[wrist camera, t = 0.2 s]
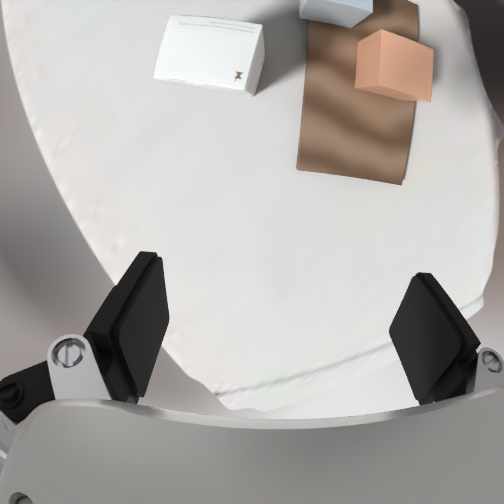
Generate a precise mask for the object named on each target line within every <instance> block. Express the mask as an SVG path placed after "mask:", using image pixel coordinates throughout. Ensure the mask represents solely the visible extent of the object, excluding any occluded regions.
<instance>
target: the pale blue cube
mask: <svg viewBox="0 0 504 504" xmlns="http://www.w3.org/2000/svg"><path fill="white" fill-rule="evenodd" d="M371 13H373V0H300V6H299V18H300V19H307V20H313V21H319V22H325V23H330V24H335V25H339V26H344V27H348V28H352V27H353V26H355V25H356V24H357V23H359V22H360V21H361V20H363V19H364V18H366V17H367V16H368V15H370V14H371Z"/></svg>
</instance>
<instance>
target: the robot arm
mask: <svg viewBox="0 0 504 504" xmlns="http://www.w3.org/2000/svg"><path fill="white" fill-rule="evenodd" d="M168 324H169V310H168V303H167V295H166V287H165V279H164V270H163V261H162V258H161V257H158V255H157V253H156V252H144V251H140V252H139V254H138V255H137V256H136V258H135V259H134V261H133V262H132V264H131V265H130V266H129V268H128V269H127V271H126V272H125V274H124V275H123V277H122V278H121V280H120V281H119V283H118V284H117V285H116V286H114V287H113V289H112V290H111V292H110V293H109V295H108V296H107V298H106V299H105V301H104V302H103V304H102V305H101V307H100V309H99V310H98V312H97V313H96V315H95V317H94V318H93V320H92V321H91V323H90V325H89V326H88V328H87V330H86V331H85V333H84V335H83V336H80V335H77V334H69V335H64V336H62V337H60V338H58V339H57V340H55V341H54V342H53V343H52V344H51V346H50V347H49V350H48V352H47V360H46V361H44V362H42V363H39V364H37V365H34V366H32V367H29V368H27V369H24V370H22V371H19V372H17V373H15V374H12V375H9V376H7V377H5V378H3V379H2V380H1V381H0V504H504V361H503V359H502V358H501V356H500V355H499V354H498V353H497V352H496V351H494V350H493V349H490V348H482V349H481V350H480V351H479V353H478V354H477V352H476V349H477V348H478V346H479V345H480V344H481V343H480V341H479V339H478V338H477V336H476V335H475V333H474V332H473V330H472V329H471V327H470V326H469V324H468V323H467V321H466V320H465V318H464V317H463V315H462V314H461V312H460V311H459V310H458V308H457V307H456V305H455V304H454V303H453V301H452V300H451V299H450V297H449V296H448V294H447V293H446V292H445V290H444V289H443V288H442V287H441V285H440V284H439V283H438V281H437V280H436V279H435V278H434V276H433V275H432V274H431V273H421V272H419V273H417V274H416V275H415V276H413V277H412V279H411V281H410V284H409V286H408V289H407V291H406V293H405V296H404V298H403V300H402V302H401V305H400V307H399V309H398V311H397V313H396V315H395V317H394V319H393V322H392V324H391V326H390V329H389V334H390V337H391V339H392V342H393V344H394V346H395V349H396V351H397V353H398V356H399V358H400V361H401V363H402V366H403V368H404V371H405V373H406V376H407V378H408V381H409V383H410V386H411V389H412V391H413V394H414V397H415V399H416V400H418V401H419V404H420V406H416V407H411V408H406V409H400V410H395V411H388V412H383V413H375V414H367V415H359V416H349V417H337V418H323V419H289V420H287V419H285V420H283V419H282V420H281V419H276V420H275V419H248V418H232V417H221V416H211V415H202V414H193V413H186V412H179V411H172V410H165V409H160V408H154V407H149V406H143V405H137V403H138V400H139V397H144V395H145V392H146V390H147V386H148V383H149V380H150V377H151V374H152V371H153V368H154V365H155V362H156V359H157V356H158V352H159V350H160V347H161V344H162V341H163V338H164V335H165V332H166V330H167V327H168ZM434 401H435V402H434ZM127 402H128V403H127ZM433 402H434V403H433ZM131 403H132V404H131Z"/></svg>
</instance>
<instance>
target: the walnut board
mask: <svg viewBox="0 0 504 504" xmlns="http://www.w3.org/2000/svg"><path fill="white" fill-rule="evenodd" d="M381 29H382V30H385V31H388V32H391V33H394V34H396V35H399V36H402V37H405V38H407V39H410V40H412V41H415V42H417V43H418V10H417V4H414V3H412V2H410V1H407V0H373V13H371V14H370V15H368V16H367V17H366V18H364V19H363V20H361V21H360V22H359V23H357V24H356V25H355V26H353V27H352V28H348V27H344V26H339V25H335V24H330V23H325V22H319V21H313V20H309V24H308V41H307V56H306V70H305V83H304V95H303V106H302V117H301V128H300V138H299V147H298V157H297V166H296V168H297V170H301V171H310V172H318V173H326V174H334V175H341V176H348V177H355V178H362V179H368V180H374V181H380V182H385V183H391V184H396V185H402V181H403V176H404V171H405V166H406V161H407V155H408V150H409V144H410V137H411V131H412V123H413V115H414V107H415V101H406V100H398V99H394V98H391V97H387V96H384V95H380V94H376V93H373V92H369V91H364V90H360V89H356V88H355V79H356V65H357V48H358V42H359V41H361V40H363V39H364V38H366V37H368V36H370V35H371V34H373V33H375V32H377V31H379V30H381Z"/></svg>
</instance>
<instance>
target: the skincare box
mask: <svg viewBox="0 0 504 504" xmlns="http://www.w3.org/2000/svg"><path fill="white" fill-rule="evenodd" d="M264 59H265V48H264V35H263V25H261V24H255V23H250V22H244V21H238V20H231V19H224V18H215V17H205V16H189V15H171V16H170V18H169V21H168V24H167V27H166V30H165V34H164V37H163V41H162V44H161V48H160V51H159V55H158V59H157V63H156V67H155V71H154V76H153V78H155V79H159V80H164V81H170V82H176V83H181V84H187V85H192V86H197V87H201V88H207V89H212V90H217V91H223V92H230V93H236V94H242V95H248V96H254V95H255V92H256V89H257V85H258V82H259V78H260V75H261V71H262V67H263V63H264Z"/></svg>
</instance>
